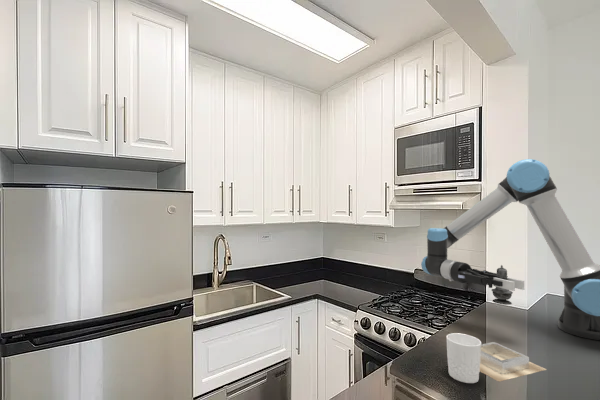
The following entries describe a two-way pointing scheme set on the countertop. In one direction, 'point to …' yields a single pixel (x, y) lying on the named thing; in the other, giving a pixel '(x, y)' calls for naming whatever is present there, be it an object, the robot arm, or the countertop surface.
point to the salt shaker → (500, 292)
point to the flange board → (499, 377)
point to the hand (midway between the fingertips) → (518, 285)
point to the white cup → (463, 357)
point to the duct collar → (513, 358)
